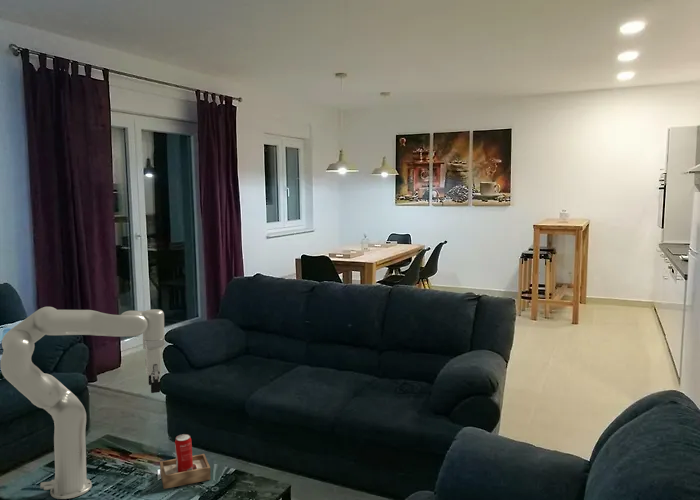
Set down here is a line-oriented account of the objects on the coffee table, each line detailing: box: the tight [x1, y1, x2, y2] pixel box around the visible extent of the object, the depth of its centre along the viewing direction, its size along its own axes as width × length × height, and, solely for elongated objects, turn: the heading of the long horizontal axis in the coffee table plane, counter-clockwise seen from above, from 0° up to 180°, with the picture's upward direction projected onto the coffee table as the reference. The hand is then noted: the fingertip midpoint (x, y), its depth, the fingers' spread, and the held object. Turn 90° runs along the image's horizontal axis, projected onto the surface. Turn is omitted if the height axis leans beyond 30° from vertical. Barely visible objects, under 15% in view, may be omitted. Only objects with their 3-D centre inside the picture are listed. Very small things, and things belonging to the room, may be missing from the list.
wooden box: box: [159, 453, 211, 490], centre depth 196 cm, size 16×12×4 cm
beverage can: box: [174, 433, 193, 473], centre depth 196 cm, size 6×6×15 cm
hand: (154, 388), depth 201 cm, fingers open, 9 cm apart
